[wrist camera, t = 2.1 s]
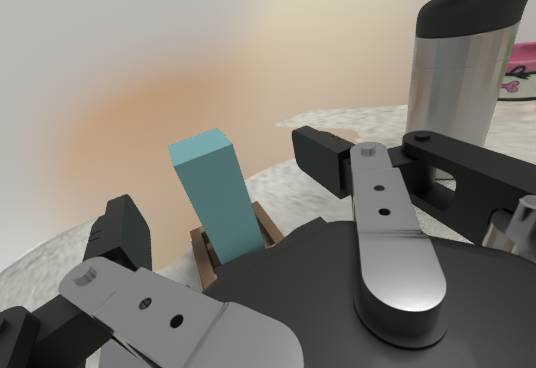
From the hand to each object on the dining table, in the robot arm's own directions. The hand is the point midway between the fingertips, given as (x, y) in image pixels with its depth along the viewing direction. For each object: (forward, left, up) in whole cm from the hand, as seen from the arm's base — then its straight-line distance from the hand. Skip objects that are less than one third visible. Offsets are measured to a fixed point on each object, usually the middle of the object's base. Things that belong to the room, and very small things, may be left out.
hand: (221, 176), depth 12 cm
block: (-5, -10, -16) cm, 20 cm away
